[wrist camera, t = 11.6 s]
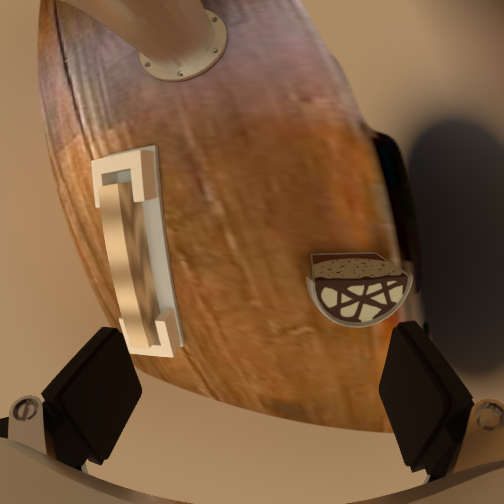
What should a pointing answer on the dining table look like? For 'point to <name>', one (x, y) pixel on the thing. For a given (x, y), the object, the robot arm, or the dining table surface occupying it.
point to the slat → (130, 262)
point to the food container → (357, 287)
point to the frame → (149, 192)
